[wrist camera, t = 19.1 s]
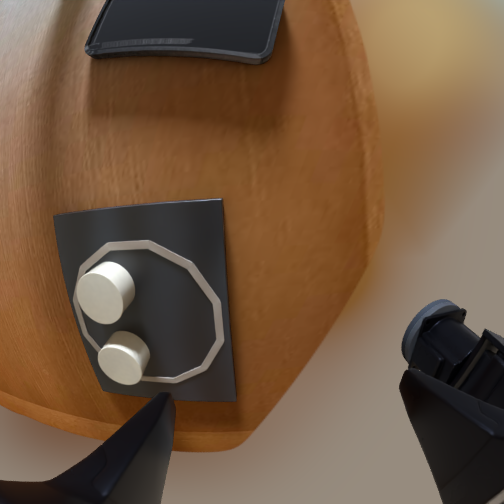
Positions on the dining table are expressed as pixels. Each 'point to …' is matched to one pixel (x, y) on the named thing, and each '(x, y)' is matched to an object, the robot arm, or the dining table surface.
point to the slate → (159, 292)
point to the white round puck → (106, 292)
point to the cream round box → (124, 357)
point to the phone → (187, 29)
